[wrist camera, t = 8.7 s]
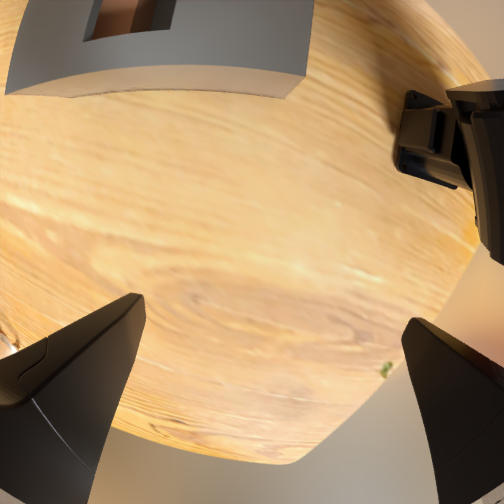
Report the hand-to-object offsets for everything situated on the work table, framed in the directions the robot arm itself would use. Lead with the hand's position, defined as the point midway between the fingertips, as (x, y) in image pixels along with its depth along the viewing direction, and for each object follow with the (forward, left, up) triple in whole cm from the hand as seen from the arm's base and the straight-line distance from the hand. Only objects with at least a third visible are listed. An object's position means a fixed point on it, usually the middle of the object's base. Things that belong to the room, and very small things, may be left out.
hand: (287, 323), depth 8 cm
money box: (+8, -14, -12) cm, 20 cm away
